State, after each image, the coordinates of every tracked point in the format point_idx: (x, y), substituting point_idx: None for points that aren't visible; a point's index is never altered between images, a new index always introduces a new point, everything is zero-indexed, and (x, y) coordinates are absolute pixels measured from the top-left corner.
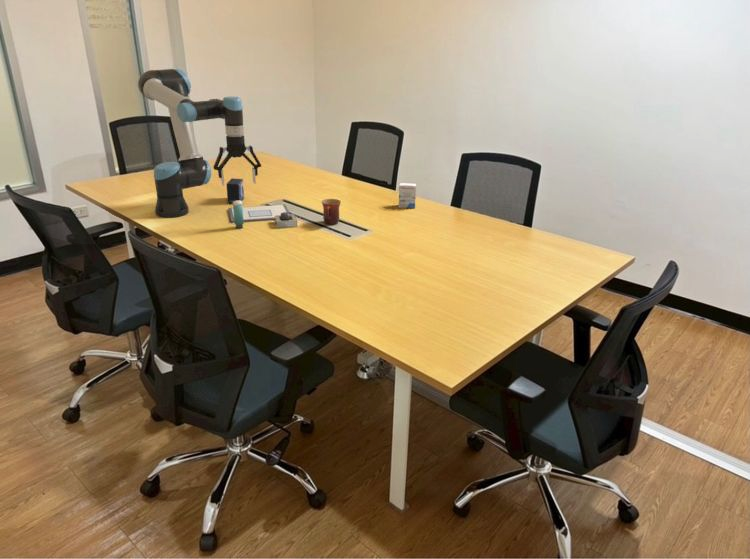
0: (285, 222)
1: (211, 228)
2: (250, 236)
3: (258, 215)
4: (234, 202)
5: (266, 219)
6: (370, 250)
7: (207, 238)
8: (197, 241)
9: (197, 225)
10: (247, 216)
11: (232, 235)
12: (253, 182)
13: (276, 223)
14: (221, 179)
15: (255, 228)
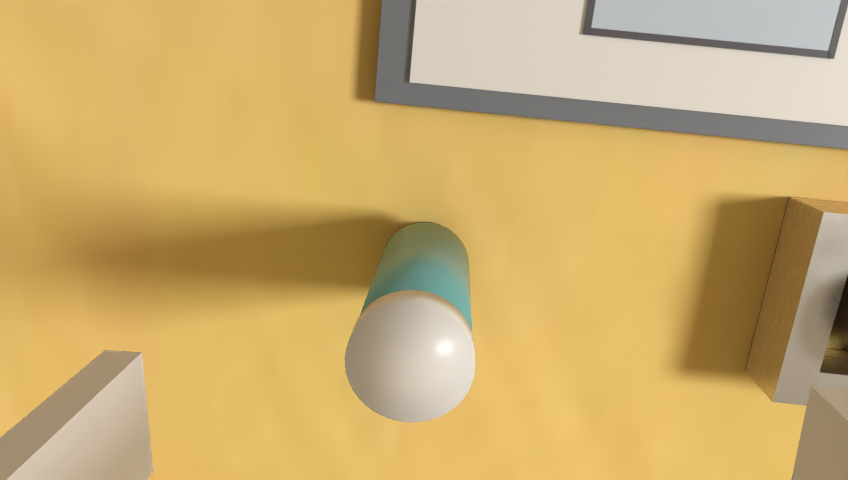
0: None
1: (182, 190)
2: (472, 473)
3: (688, 14)
4: (366, 381)
5: (730, 136)
6: None
7: None
8: None
9: (57, 64)
10: (565, 5)
11: (339, 410)
12: (805, 429)
13: (770, 319)
14: (35, 415)
15: (558, 314)
